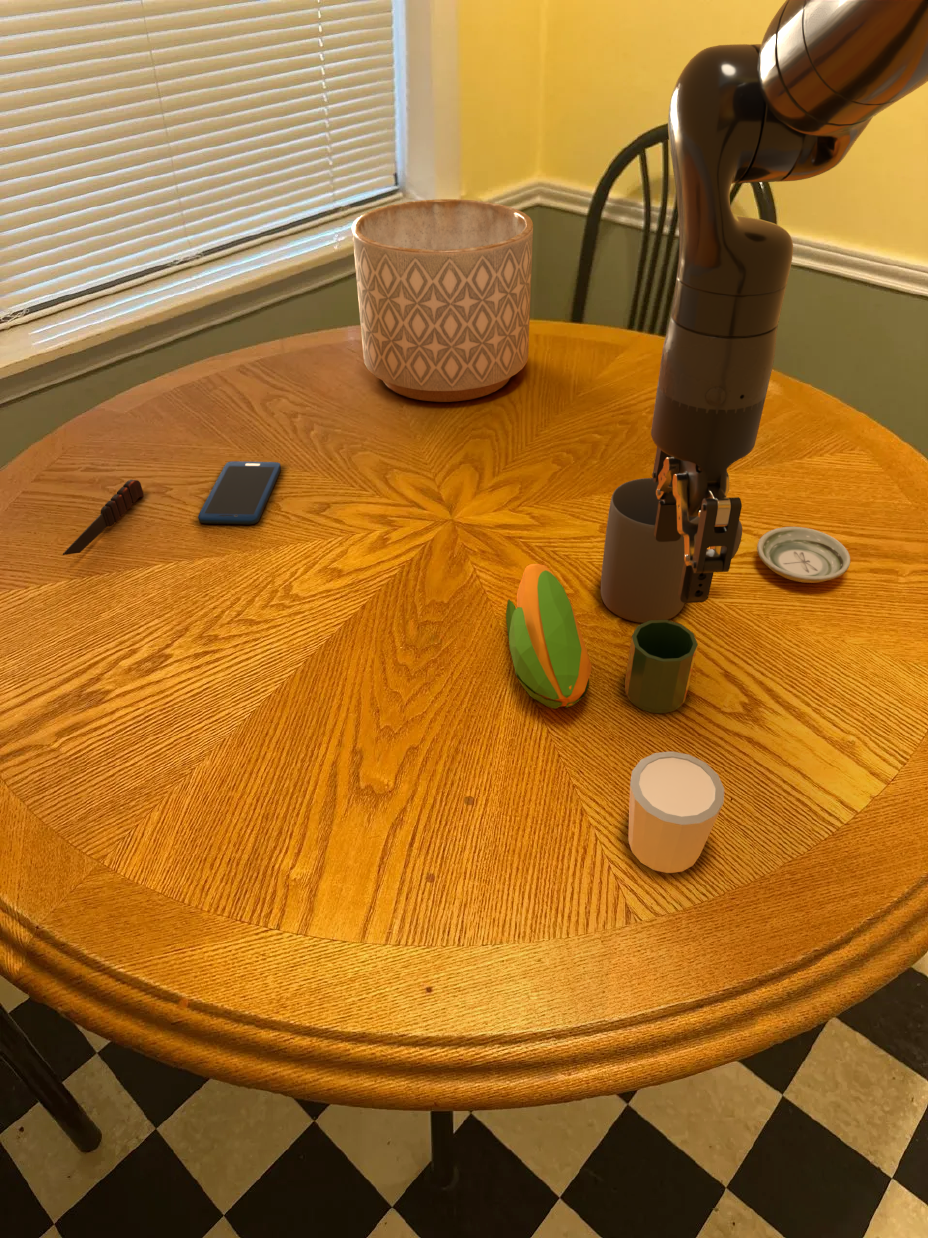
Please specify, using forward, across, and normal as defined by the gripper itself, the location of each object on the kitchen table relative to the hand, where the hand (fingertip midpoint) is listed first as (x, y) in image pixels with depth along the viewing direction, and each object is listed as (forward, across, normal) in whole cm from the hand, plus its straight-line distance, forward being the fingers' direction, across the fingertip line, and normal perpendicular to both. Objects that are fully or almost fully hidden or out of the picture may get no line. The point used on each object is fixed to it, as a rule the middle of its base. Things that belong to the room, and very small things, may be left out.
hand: (678, 568), depth 71 cm
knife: (+15, +31, +59) cm, 68 cm away
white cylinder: (+15, -16, +3) cm, 22 cm away
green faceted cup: (+15, 0, 0) cm, 15 cm away
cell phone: (+14, +38, +44) cm, 60 cm away
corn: (+15, +6, +10) cm, 19 cm away
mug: (+15, +14, -4) cm, 21 cm away
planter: (+14, +72, +17) cm, 76 cm away
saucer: (+15, +18, -20) cm, 31 cm away
